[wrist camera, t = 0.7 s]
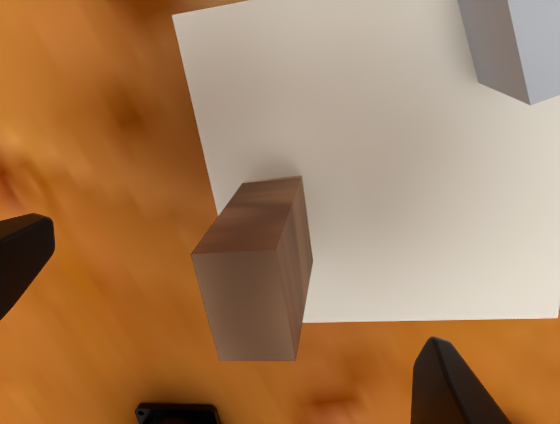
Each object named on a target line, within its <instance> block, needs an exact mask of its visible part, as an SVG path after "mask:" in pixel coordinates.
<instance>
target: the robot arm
mask: <svg viewBox="0 0 560 424" xmlns="http://www.w3.org/2000/svg"><path fill="white" fill-rule="evenodd" d="M54 250H55V238H54V225H53V221H52V219H51V218H49V217H46V216H43V215H40V214H36V213H31V214H27V215H23V216H19V217H14V218H10V219H6V220H2V221H0V320H1V319H2V318H3V317H4V316H5V315H6V314H7V313H8V311H9V310H10V309H11V308H12V307H13V306H14V304H15V303H16V302H17V301H18V300H19V298H20V297H21V296H22V294H23V293H24V292H25V290H26V289H27V288H28V286H29V285H30V284H31V283H32V281H33V280H34V279H35V277H36V276H37V275H38V273H39V272H40V271H41V269H42V268H43V267H44V265H45V264H46V263H47V262H48V260H49V259H50V258H51V256H52V254H53V252H54ZM135 414H136V417H137V419H138V422H139V424H220V421H219V418H218V414H217V411H216V409H215V408H214V407H212V406H193V405H155V404H139V405H138V406H137V408H136V410H135ZM411 424H512V423H511V422H510V421H509V419H508V418H507V417H506V415H505V414H504V413H503V411H502V410H501V409H500V407H499V406H498V405H497V403H496V402H495V401H494V399H493V398H492V397H491V395H490V394H489V393H488V391H487V390H486V389H485V387H484V386H483V385H482V383H481V382H480V381H479V379H478V378H477V377H476V375H475V374H474V373H473V371H472V370H471V369H470V367H469V366H468V365H467V363H466V362H465V361H464V359H463V358H462V357H461V355H460V354H459V353H458V351H457V350H456V349H455V347H454V346H453V345H452V343H451V342H449V341H447V340H444V339H441V338H437V337H430V338H429V339H428V340H427V342H426V344H425V345H424V347H423V349H422V350H421V352H420V354H419V355H418V357H417V359H416V361H415V364H414V368H413V385H412V405H411Z"/></svg>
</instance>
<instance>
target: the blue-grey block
mask: <svg viewBox="0 0 560 424" xmlns="http://www.w3.org/2000/svg"><path fill="white" fill-rule="evenodd" d="M457 1H458V5H459V9H460V13H461V17H462V20H463V24H464V28H465V32H466V36H467V40H468V44H469V48H470V52H471V55H472V59H473V63H474V67H475V71H476V75H477V79H478V83H480V84H482V85H485V86H487V87H489V88H492V89H494V90H496V91H498V92H501V93H503V94H505V95H508V96H510V97H512V98H515V99H517V100H519V101H522V102H524V103H526V104H529V105H533V104H536V103H539V102H541V101H544V100H547V99H550V98H553V97H556V96H558V95H560V0H457Z"/></svg>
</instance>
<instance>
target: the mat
mask: <svg viewBox="0 0 560 424" xmlns="http://www.w3.org/2000/svg"><path fill="white" fill-rule="evenodd" d="M172 18H173V22H174V27H175V31H176V35H177V40H178V44H179V48H180V53H181V57H182V62H183V66H184V70H185V75H186V79H187V83H188V88H189V92H190V96H191V101H192V105H193V109H194V114H195V118H196V122H197V127H198V131H199V135H200V140H201V144H202V148H203V153H204V157H205V162H206V166H207V170H208V175H209V179H210V183H211V188H212V192H213V196H214V201H215V205H216V209H217V214H218V216H219V215H220V213H221V212H222V210H223V209H224V208H225V206H226V205H227V203H228V202H229V201H230V199H231V198H232V197H233V195H234V194H235V192H236V191H237V190H238V188H239V187H240V186H241V184H242V183H243V181H250V180H261V179H271V178H282V177H292V176H302V178H303V186H304V193H305V200H306V207H307V214H308V222H309V229H310V236H311V243H312V251H313V258H314V259H313V265H312V270H311V276H310V282H309V287H308V293H307V299H306V304H305V310H304V316H303V321H302V323H314V322H369V321H424V320H478V319H533V318H558V312H559V304H560V95H558V96H556V97H553V98H550V99H547V100H544V101H541V102H539V103H536V104H533V105H529V104H526V103H524V102H522V101H519V100H517V99H515V98H512V97H510V96H508V95H505V94H503V93H501V92H498V91H496V90H494V89H492V88H489V87H487V86H485V85H482V84H480V83H478V79H477V75H476V71H475V67H474V63H473V59H472V55H471V52H470V48H469V44H468V40H467V36H466V32H465V28H464V24H463V20H462V17H461V13H460V9H459V5H458V1H457V0H248V1H243V2H238V3H233V4H227V5H222V6H217V7H212V8H206V9H201V10H196V11H191V12H185V13H180V14H175V15H172Z"/></svg>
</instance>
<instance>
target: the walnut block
mask: <svg viewBox="0 0 560 424" xmlns="http://www.w3.org/2000/svg"><path fill="white" fill-rule="evenodd" d="M191 258H192V262H193V265H194V269H195V273H196V277H197V280H198V284H199V288H200V291H201V295H202V299H203V303H204V306H205V310H206V314H207V318H208V321H209V325H210V329H211V332H212V336H213V340H214V344H215V347H216V351H217V355H218V358H219V361H296V356H297V350H298V344H299V339H300V333H301V327H302V321H303V316H304V310H305V304H306V299H307V293H308V287H309V282H310V276H311V270H312V265H313V259H314V258H313V251H312V243H311V236H310V229H309V222H308V214H307V207H306V200H305V193H304V186H303V178H302V176H292V177H282V178H271V179H261V180H250V181H243V183H242V184H241V186H240V187H239V188H238V190H237V191H236V192H235V194H234V195H233V197H232V198H231V199H230V201H229V202H228V203H227V205H226V206H225V208H224V209H223V210H222V212H221V213H220V215H219V216H218V217H217V219H216V220H215V221H214V223H213V224H212V226H211V227H210V228H209V230H208V231H207V232H206V234H205V235H204V237H203V238H202V239H201V241H200V242H199V243H198V245H197V246H196V248H195V249H194V250H193V252H192V253H191Z"/></svg>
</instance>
